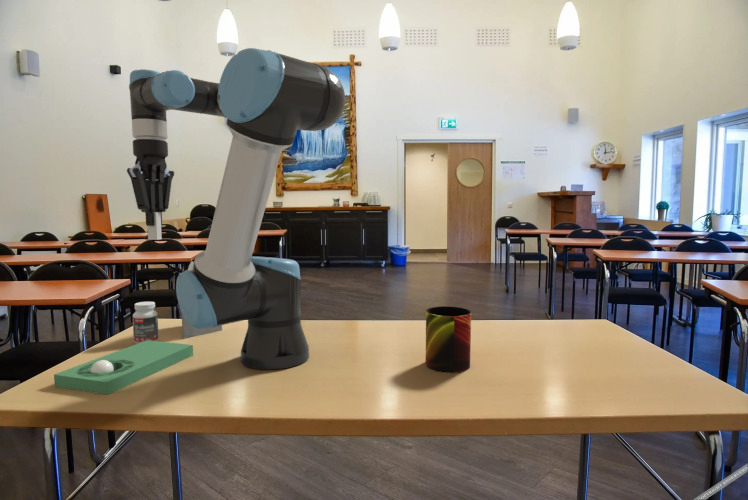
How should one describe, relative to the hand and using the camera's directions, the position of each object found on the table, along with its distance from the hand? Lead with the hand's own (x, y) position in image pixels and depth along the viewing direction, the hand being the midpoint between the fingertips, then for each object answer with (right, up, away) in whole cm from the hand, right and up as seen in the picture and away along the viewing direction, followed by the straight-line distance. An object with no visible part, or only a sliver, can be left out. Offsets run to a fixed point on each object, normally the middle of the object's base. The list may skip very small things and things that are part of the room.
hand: (154, 239), depth 116 cm
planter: (+7, -25, +17) cm, 31 cm away
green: (+1, -28, -14) cm, 31 cm away
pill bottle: (-5, -26, +6) cm, 27 cm away
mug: (+69, -28, -9) cm, 75 cm away
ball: (-1, -26, -21) cm, 34 cm away
